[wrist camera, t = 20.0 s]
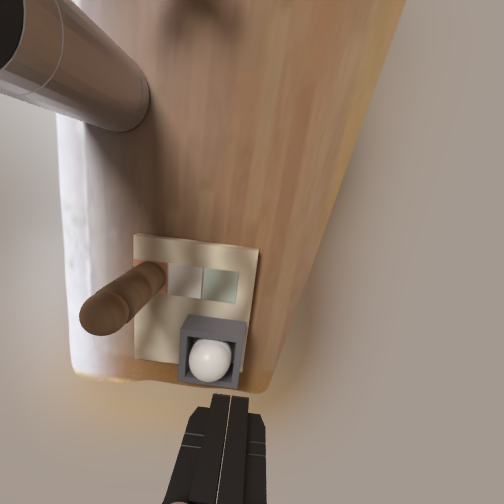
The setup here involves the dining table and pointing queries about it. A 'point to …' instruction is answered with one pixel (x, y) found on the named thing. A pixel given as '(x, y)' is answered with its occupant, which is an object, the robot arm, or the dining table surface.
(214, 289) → the game board
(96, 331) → the pawn
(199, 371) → the dome button
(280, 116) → the dining table surface
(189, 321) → the dome frame
